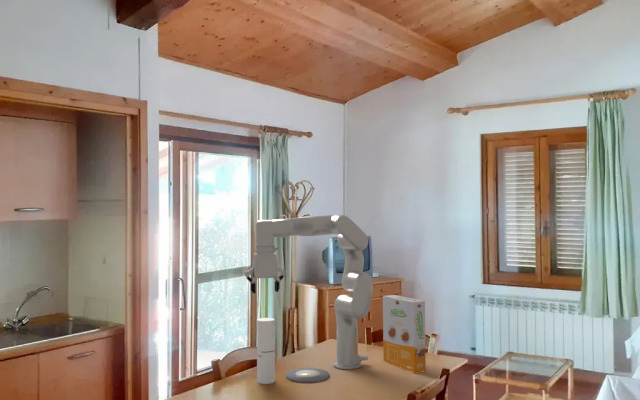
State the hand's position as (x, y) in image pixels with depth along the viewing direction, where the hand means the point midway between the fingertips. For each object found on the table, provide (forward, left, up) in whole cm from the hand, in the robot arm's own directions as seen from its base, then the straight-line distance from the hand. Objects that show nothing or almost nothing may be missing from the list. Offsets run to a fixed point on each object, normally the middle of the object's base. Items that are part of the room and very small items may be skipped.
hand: (265, 292), depth 226 cm
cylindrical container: (0, 0, -36) cm, 36 cm away
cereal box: (-63, +2, -36) cm, 73 cm away
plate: (-18, 0, -36) cm, 40 cm away
